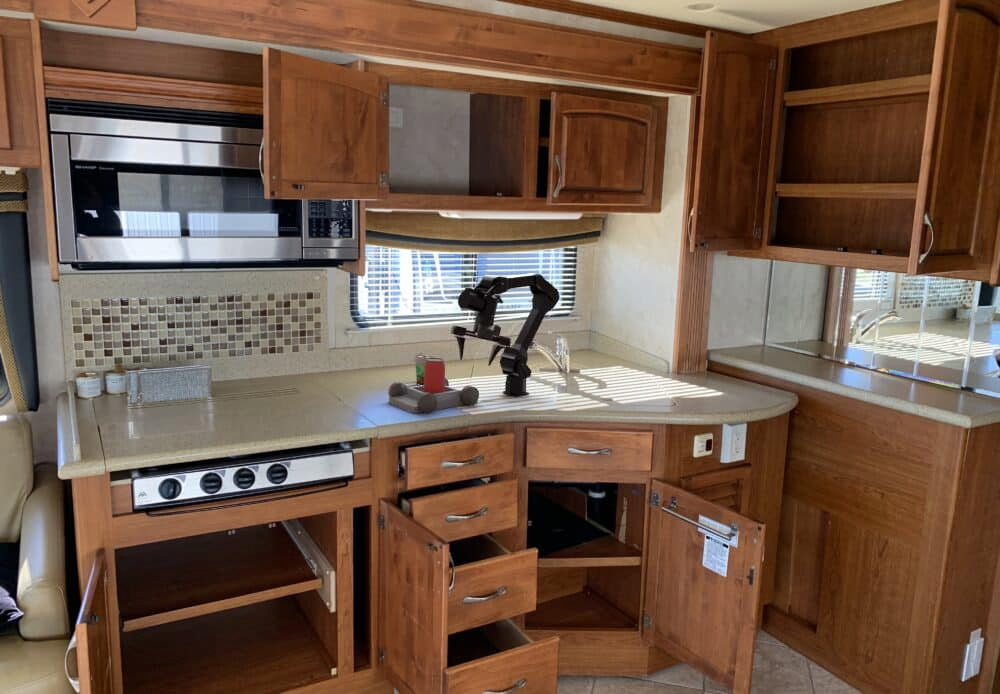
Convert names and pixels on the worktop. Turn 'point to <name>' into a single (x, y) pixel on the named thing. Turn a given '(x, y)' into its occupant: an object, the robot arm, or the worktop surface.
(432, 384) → the beer can
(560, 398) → the worktop surface
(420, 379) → the food container
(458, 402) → the chassis
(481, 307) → the robot arm
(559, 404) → the worktop surface
